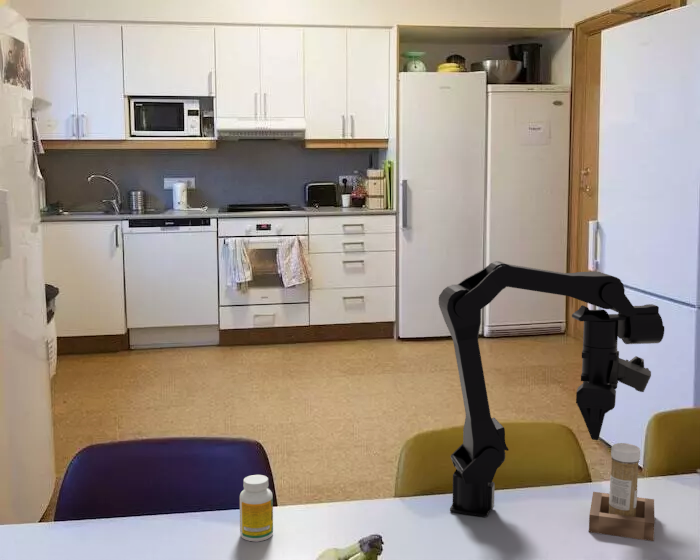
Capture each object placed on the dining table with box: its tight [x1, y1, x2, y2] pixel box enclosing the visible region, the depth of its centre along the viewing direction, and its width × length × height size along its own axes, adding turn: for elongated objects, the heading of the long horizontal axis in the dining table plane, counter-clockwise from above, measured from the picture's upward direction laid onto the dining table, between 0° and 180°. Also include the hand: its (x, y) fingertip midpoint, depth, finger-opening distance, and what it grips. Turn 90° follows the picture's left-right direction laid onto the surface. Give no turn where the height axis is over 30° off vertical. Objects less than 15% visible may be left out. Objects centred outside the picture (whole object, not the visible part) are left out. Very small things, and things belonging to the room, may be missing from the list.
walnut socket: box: [588, 491, 656, 542], centre depth 136 cm, size 10×10×3 cm
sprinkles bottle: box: [608, 442, 641, 517], centre depth 136 cm, size 5×5×13 cm
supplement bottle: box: [239, 474, 274, 543], centre depth 132 cm, size 5×5×10 cm
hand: (596, 431), depth 144 cm, fingers open, 9 cm apart
